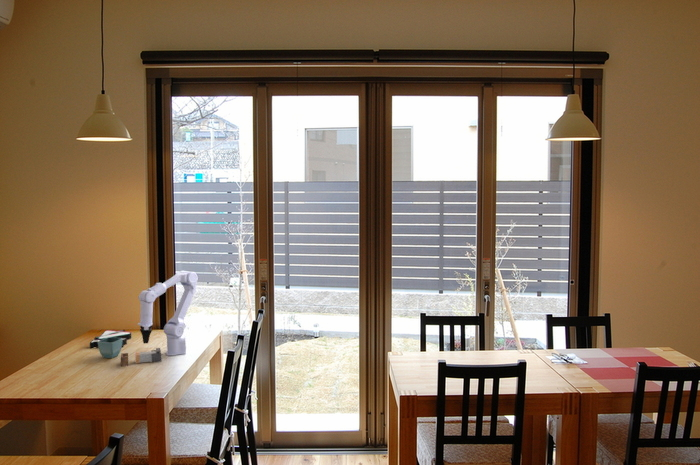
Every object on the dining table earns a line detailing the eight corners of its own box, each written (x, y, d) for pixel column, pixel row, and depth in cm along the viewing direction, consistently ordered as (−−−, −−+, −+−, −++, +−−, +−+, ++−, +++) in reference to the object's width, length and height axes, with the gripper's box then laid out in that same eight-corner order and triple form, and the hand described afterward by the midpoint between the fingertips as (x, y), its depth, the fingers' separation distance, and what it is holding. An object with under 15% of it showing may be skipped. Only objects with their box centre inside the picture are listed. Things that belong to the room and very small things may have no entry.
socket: (128, 361, 266) (128, 352, 266) (128, 365, 260) (127, 356, 260) (121, 362, 265) (121, 353, 265) (121, 366, 259) (120, 357, 258)
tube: (160, 358, 271) (160, 350, 270) (161, 360, 267) (161, 352, 267) (135, 360, 266) (135, 352, 266) (135, 363, 262) (135, 355, 262)
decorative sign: (87, 344, 285) (101, 330, 315) (88, 350, 286) (101, 336, 315) (123, 342, 289) (134, 328, 319) (124, 348, 290) (134, 334, 319)
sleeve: (160, 357, 272) (160, 347, 271) (161, 361, 266) (161, 350, 266) (151, 359, 270) (151, 348, 270) (151, 362, 264) (151, 351, 264)
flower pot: (112, 360, 269) (112, 342, 268) (97, 359, 270) (96, 341, 270) (123, 354, 277) (123, 338, 277) (108, 353, 279) (108, 337, 278)
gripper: (138, 312, 271) (137, 338, 271) (137, 317, 257) (137, 345, 257) (152, 312, 273) (151, 338, 274) (153, 316, 260) (152, 344, 260)
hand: (145, 341), depth 266 cm, fingers open, 7 cm apart
